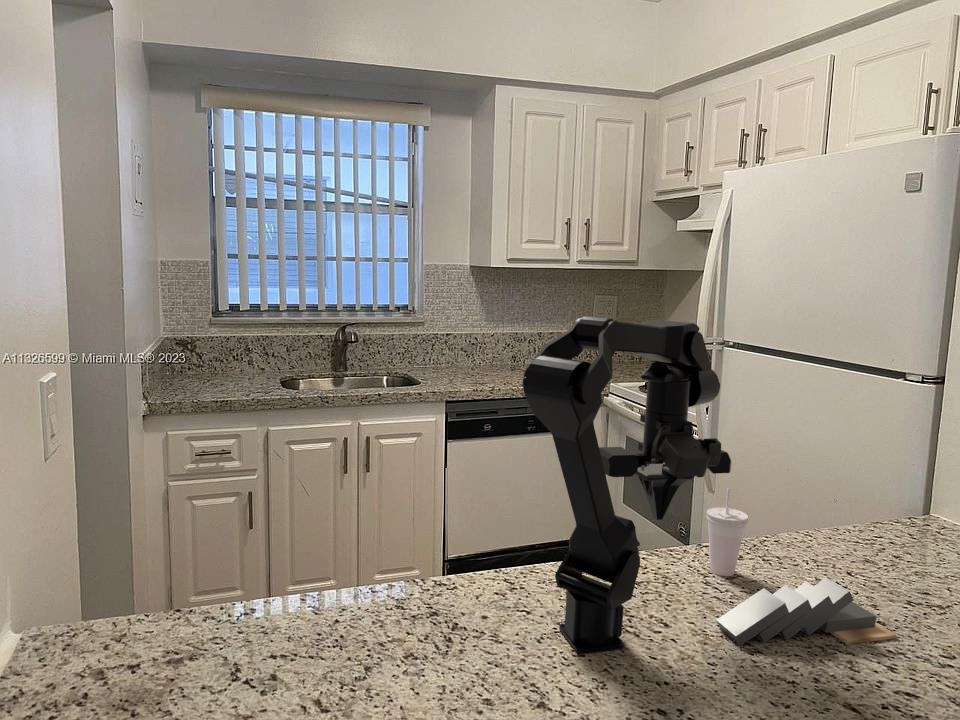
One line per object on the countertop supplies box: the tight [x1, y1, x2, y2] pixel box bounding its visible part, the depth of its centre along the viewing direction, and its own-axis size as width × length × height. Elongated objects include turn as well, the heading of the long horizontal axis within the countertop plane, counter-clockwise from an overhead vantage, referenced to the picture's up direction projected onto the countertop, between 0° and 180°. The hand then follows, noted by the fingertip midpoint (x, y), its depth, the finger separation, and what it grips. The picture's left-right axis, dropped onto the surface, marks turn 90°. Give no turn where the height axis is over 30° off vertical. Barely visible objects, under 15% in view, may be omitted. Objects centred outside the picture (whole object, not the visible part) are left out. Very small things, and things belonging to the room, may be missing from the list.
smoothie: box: [705, 487, 749, 577], centre depth 116 cm, size 6×6×14 cm
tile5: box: [818, 601, 877, 633], centre depth 100 cm, size 2×4×8 cm
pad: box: [829, 621, 897, 645], centre depth 100 cm, size 8×9×1 cm
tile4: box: [800, 577, 855, 637], centre depth 99 cm, size 2×4×8 cm
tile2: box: [755, 584, 812, 644], centre depth 97 cm, size 2×4×8 cm
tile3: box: [777, 581, 833, 641], centre depth 98 cm, size 2×4×8 cm
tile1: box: [716, 587, 789, 647], centre depth 96 cm, size 2×4×8 cm
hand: (657, 519), depth 103 cm, fingers closed
